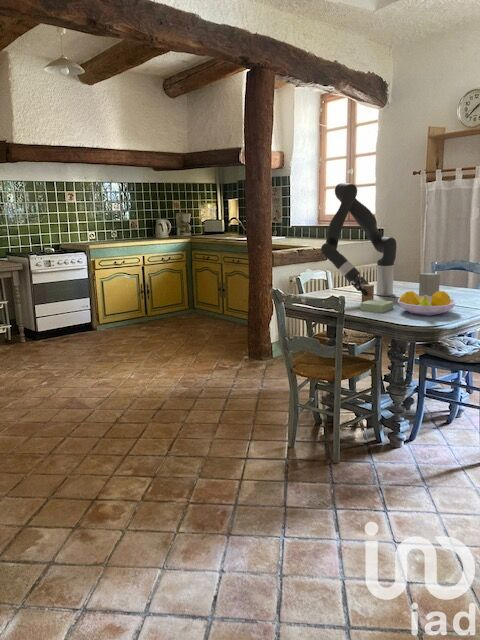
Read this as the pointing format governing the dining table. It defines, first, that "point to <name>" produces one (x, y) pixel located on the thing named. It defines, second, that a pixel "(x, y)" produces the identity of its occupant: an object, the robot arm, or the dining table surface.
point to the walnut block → (370, 292)
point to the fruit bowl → (426, 303)
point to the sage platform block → (376, 305)
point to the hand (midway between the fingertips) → (369, 293)
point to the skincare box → (428, 284)
